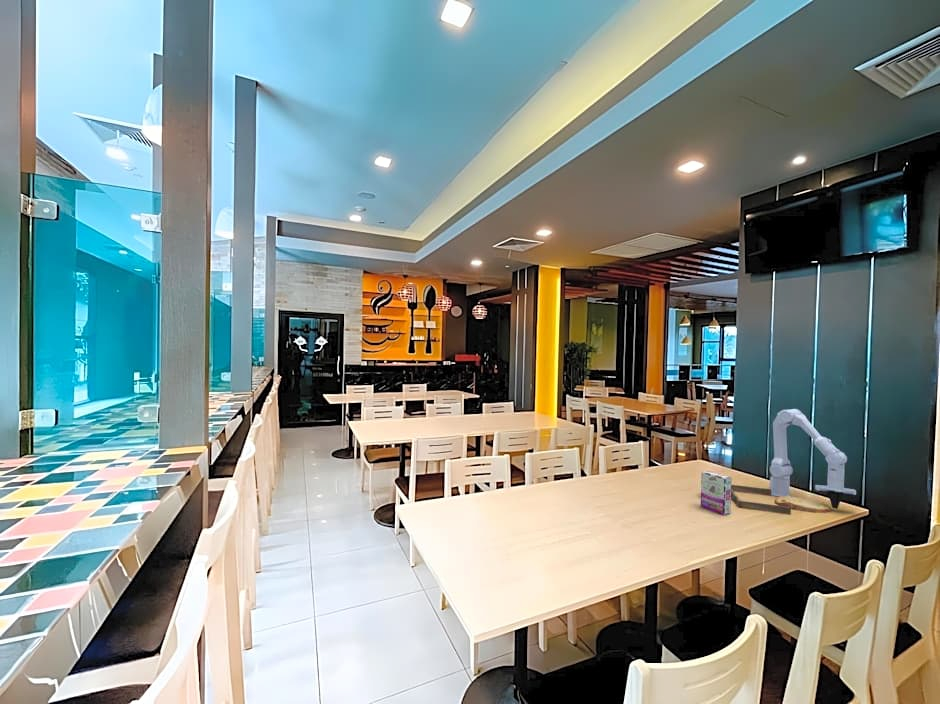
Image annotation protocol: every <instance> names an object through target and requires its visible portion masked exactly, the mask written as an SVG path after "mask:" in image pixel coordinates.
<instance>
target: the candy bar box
mask: <svg viewBox="0 0 940 704" xmlns="http://www.w3.org/2000/svg"><path fill="white" fill-rule="evenodd" d="M700 477H701V481H700V482H701V483H700V507H701V508H703V509H706V510H710V511H711V512H714V513H717V514H720V515H722V516H726V515H730V514H731V503H732V502H731V500H732V498H731V485H732V477H731V476H727V475H725V474H721V473H718V472H715V471H710V470H705V471H701V476H700Z"/></svg>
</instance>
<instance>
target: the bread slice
mask: <svg viewBox="0 0 940 704" xmlns="http://www.w3.org/2000/svg"><path fill="white" fill-rule="evenodd" d="M774 505H778V506H785V507H791V510H795V511H800V512H807V513H815V514H817V513H818V514H827V512H828V513H831V512H832V509H831V507H830V506H829V505H828V504H826V503H825V502H822V501H816V500H813V499H807V498H802V497H794V496H792V497H789V496H785V495H784V496H777V497H776V498H775V500H774Z"/></svg>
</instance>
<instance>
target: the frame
mask: <svg viewBox="0 0 940 704" xmlns="http://www.w3.org/2000/svg"><path fill="white" fill-rule="evenodd" d="M735 492H737V493H745V494H753V495H761V496H770V497H771V496H772V494H771V489H770V488H763V487H762V488H761V487H757V486H756V487H755V486H747V485H736V484H731V500H732V501H733V502H734V503H735V504H736V506H737V507H738V508H741V509H747V510H753V511H762V512H768V513H777V514H783V515H791V513H792V509H791V507H785V506H779V505H777V504H771V503H770V504H768V503H763V502H762V503H761V502H753V501H745V500H741V499H740V498H739V496H738V495H737V494H736V493H735Z"/></svg>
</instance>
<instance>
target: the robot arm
mask: <svg viewBox="0 0 940 704" xmlns="http://www.w3.org/2000/svg"><path fill="white" fill-rule="evenodd" d="M790 425H794V426H798V427H801V429H802V430H803V431H805V433H806V434H807V435H808V436H809V437H811V438H812V439H813V442H814V443H813V444H814V446H816V448H817V450H819V451H820V452H821V453H822V454H823V456H824V457H825V461H826V462H827V479H826V480H827V484H826V485H825V484H824V485H822V484H821V485H820V484H815V485H814V488H815V489H814V490H815V491H819V492H820V491H824V492H826V494H827V496H828V498H829V500H830V505H831V508H833V509H836V510H837V509H838V507H839V506H840V503H841V501H842V500H843V499H844V498H845V494H849V495H854V496H856V495H857V490H856V489H853V488H849V487H848V488H846V487H845V465H846V463H847V461H848V456H847V455H846V454H845V452H843V451H840V449H839V448H837V447H836V446H835V445H834V444H833V443H832V440H831V439H830V438H827V437H825V436H822V435H821V434H820V433H819V431H818V430H816V428H815V427H814V426H813V425H812V423H811V422H810V421H809V420H808V418H807V417H806V415H805V414H803V412H802V411H801V410H799V409H798V408H792V409H782V410H781V411H779V412H777V414H776V417H775V418H774V420H773V422H772V432H773V433H772V434H773V436H772V437H773V454H774V455H773V459H772V461H771V465H770V467H769V473H770V474H771V476H770V478H769V489H771V496H774V497H780V496H784V495H785V496H789V497H793V496H792V495H791V494H790V488H791V487H790V486H791V485H790V483H791V482H790V481H791V480H790V479H791V478H790V477H791V475H792V474H793V472H794V470H793V467H792V465H791V461H790V459H788V442H787V441H788V439H787V427H788V426H790Z"/></svg>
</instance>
